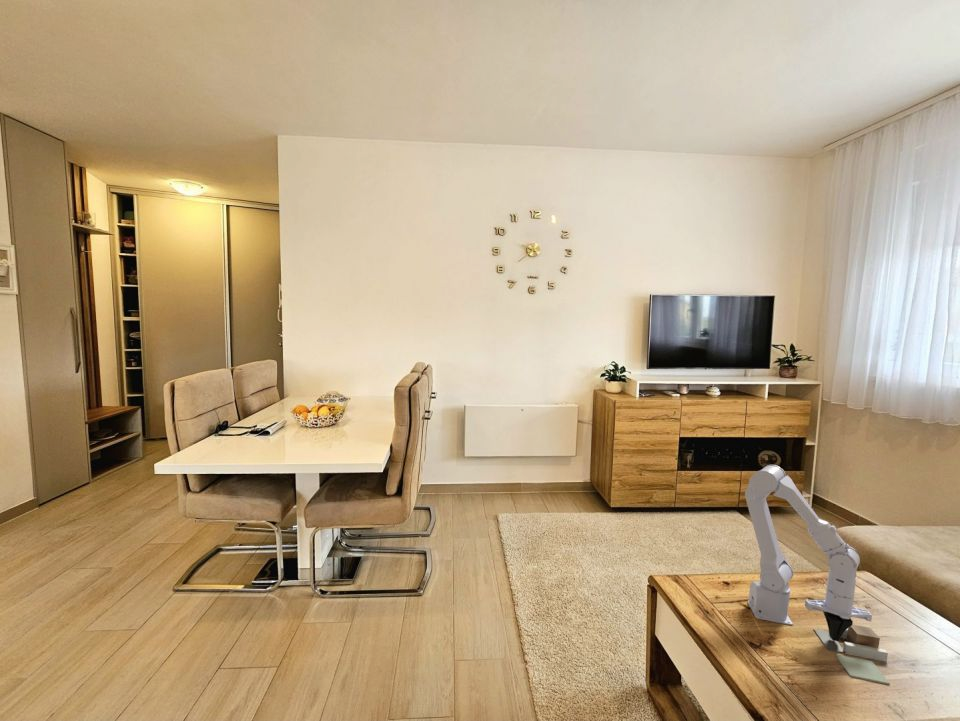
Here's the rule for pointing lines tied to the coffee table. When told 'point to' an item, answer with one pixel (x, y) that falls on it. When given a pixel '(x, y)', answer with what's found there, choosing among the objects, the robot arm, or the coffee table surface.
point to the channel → (851, 647)
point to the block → (862, 636)
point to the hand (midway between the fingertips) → (833, 638)
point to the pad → (862, 669)
